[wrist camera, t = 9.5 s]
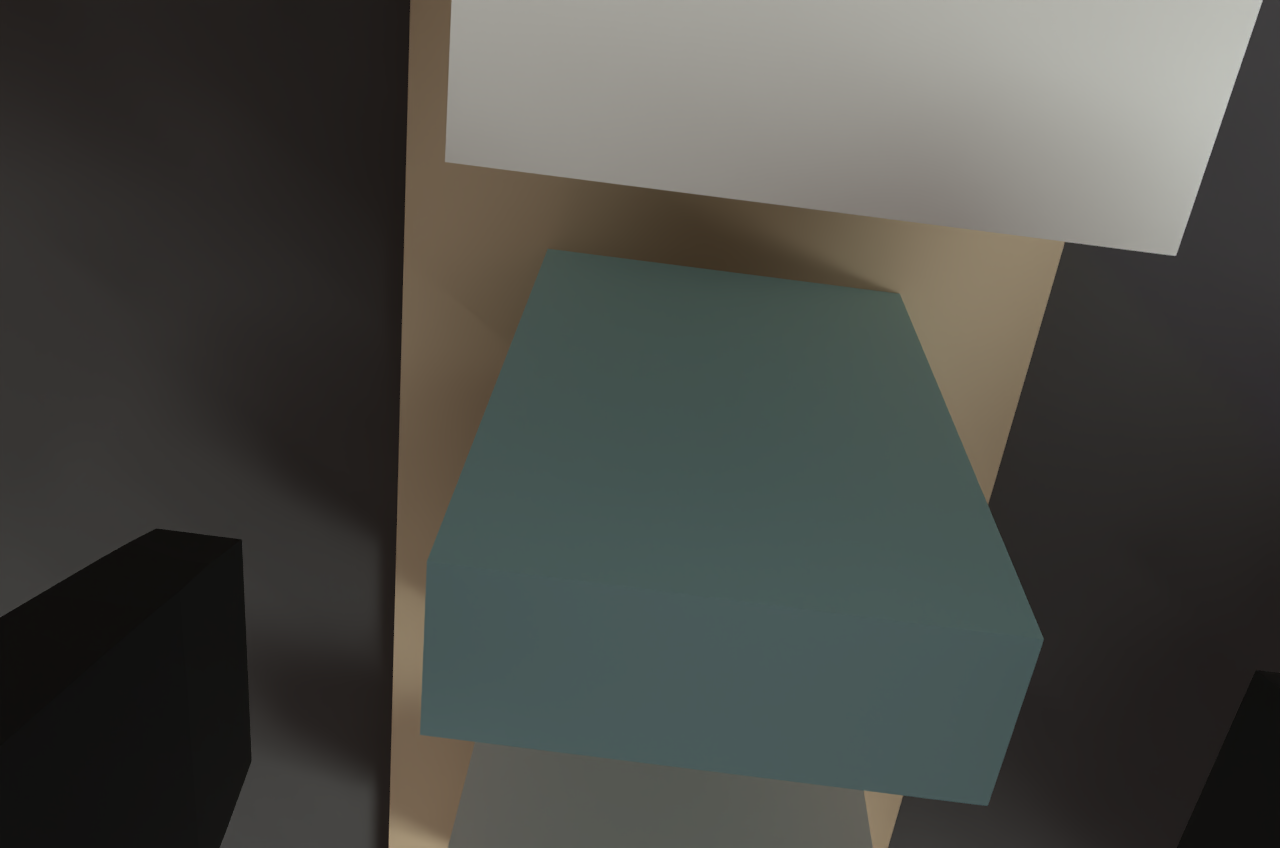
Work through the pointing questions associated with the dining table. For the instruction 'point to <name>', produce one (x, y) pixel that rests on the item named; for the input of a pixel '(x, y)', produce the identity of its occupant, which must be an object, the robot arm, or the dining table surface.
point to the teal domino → (725, 542)
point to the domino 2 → (643, 806)
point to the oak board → (655, 232)
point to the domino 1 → (864, 105)
